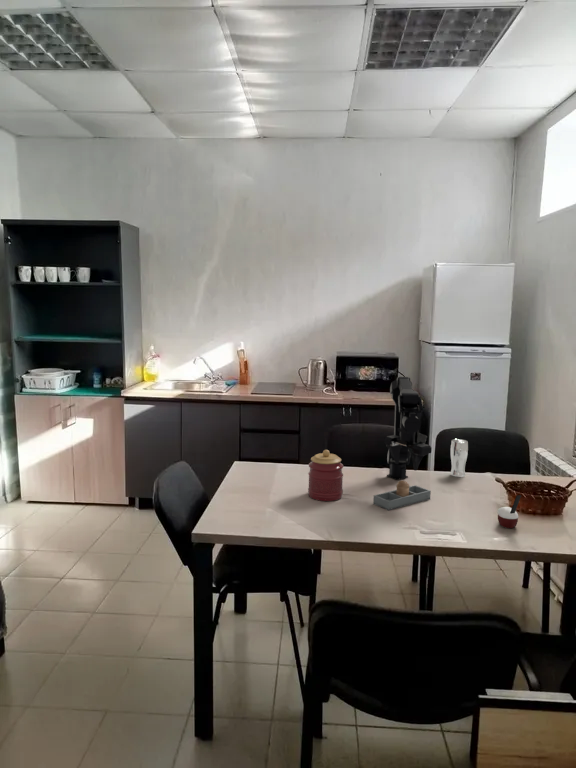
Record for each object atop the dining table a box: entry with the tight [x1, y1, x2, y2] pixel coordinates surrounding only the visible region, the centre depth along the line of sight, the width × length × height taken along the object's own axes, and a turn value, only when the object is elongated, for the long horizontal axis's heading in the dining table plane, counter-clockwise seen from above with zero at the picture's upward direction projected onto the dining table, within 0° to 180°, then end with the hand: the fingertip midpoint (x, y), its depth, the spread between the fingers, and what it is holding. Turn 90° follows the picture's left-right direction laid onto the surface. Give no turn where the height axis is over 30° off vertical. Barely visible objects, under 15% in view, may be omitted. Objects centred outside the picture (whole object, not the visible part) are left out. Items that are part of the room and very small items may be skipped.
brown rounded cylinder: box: [396, 480, 410, 497], centre depth 198 cm, size 4×4×7 cm
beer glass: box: [449, 438, 469, 478], centre depth 231 cm, size 7×7×15 cm
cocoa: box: [497, 494, 522, 529], centre depth 176 cm, size 10×6×12 cm, turn 169°
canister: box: [307, 449, 344, 502], centre depth 203 cm, size 13×13×18 cm
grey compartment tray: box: [372, 484, 432, 511], centre depth 199 cm, size 8×22×3 cm, turn 124°
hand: (406, 467), depth 202 cm, fingers open, 9 cm apart
